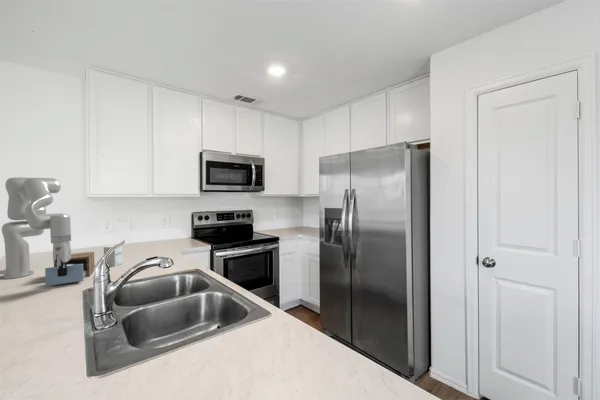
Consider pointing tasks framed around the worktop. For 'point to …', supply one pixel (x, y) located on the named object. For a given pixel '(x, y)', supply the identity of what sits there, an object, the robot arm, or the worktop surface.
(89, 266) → the tan storage bin
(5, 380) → the worktop surface
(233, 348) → the worktop surface
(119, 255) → the supplement box
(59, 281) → the tray
